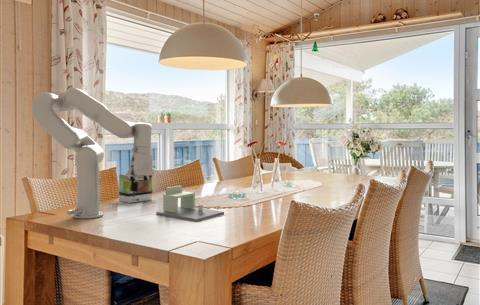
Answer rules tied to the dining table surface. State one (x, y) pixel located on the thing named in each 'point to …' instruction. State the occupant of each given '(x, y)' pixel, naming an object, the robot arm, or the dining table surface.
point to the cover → (172, 199)
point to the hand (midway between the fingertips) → (139, 189)
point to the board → (192, 213)
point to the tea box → (128, 195)
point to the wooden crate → (141, 186)
